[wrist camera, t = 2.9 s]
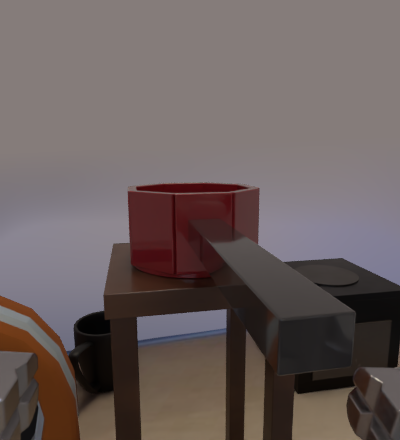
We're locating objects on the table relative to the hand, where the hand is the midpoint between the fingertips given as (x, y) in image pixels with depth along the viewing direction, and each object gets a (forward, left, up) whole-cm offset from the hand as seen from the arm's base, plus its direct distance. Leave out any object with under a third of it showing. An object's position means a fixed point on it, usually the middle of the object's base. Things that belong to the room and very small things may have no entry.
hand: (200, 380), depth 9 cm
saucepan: (-3, -10, -2) cm, 11 cm away
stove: (-29, -42, -28) cm, 58 cm away
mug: (+7, -41, -28) cm, 50 cm away
